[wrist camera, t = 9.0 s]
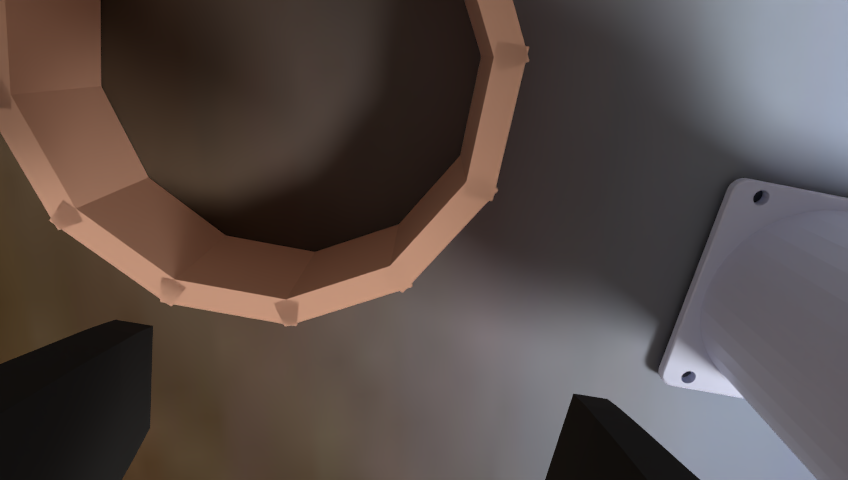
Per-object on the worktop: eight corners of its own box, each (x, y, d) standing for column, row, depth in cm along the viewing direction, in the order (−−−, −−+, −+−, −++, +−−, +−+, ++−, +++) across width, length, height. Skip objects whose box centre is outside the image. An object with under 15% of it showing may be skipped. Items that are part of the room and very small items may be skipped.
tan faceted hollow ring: (551, -129, 16) (589, -188, 12) (453, 300, 20) (458, 357, 16) (66, -234, 15) (-58, -331, 11) (76, 231, 19) (-10, 274, 16)
